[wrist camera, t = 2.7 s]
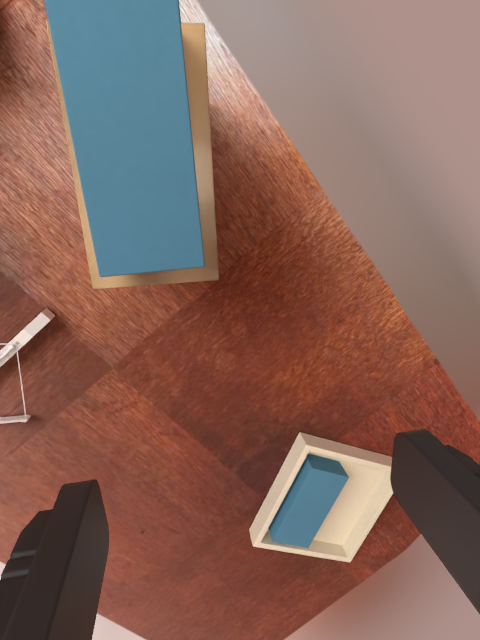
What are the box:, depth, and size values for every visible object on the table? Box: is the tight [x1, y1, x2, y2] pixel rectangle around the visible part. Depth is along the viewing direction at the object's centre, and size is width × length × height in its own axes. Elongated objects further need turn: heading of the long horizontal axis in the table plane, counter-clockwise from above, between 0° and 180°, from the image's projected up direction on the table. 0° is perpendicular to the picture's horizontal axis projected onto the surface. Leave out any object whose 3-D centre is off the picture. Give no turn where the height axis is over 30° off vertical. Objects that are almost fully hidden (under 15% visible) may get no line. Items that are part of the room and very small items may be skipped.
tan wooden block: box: [46, 19, 219, 289], centre depth 28 cm, size 8×14×14 cm, turn 2°
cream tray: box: [249, 432, 393, 562], centre depth 49 cm, size 16×17×3 cm
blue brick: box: [268, 454, 349, 548], centre depth 48 cm, size 6×12×3 cm, turn 157°
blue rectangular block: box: [44, 0, 205, 277], centre depth 19 cm, size 6×12×4 cm, turn 4°
